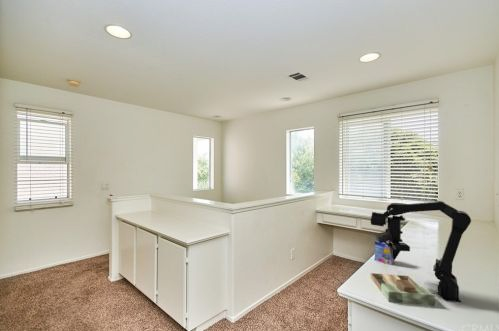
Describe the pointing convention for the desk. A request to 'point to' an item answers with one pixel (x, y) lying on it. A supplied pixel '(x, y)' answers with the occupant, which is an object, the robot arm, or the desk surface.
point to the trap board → (393, 294)
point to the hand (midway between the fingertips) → (393, 259)
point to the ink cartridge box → (383, 253)
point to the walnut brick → (405, 286)
